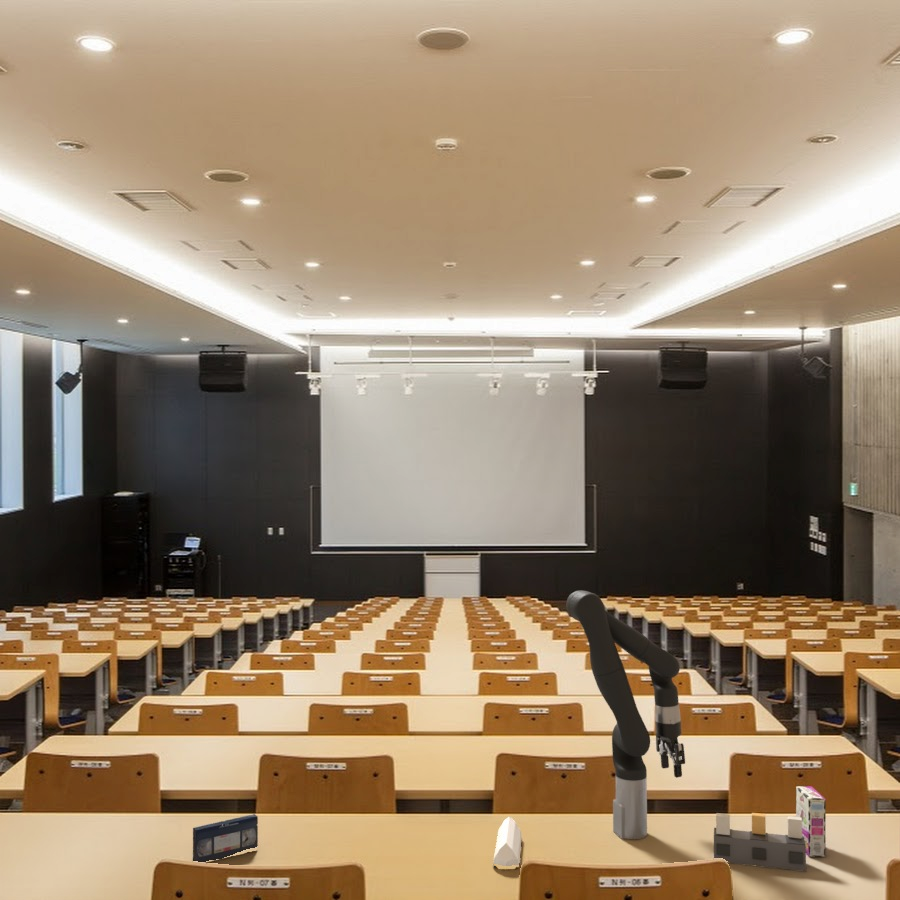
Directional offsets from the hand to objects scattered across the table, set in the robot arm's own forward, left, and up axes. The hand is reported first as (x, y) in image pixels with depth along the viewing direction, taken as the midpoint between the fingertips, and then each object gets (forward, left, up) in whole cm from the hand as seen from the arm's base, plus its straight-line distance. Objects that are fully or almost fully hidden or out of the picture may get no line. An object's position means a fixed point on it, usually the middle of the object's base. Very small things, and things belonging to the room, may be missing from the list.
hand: (671, 772), depth 285 cm
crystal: (-53, -5, -18) cm, 56 cm away
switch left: (+4, -24, -10) cm, 26 cm away
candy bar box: (+32, -23, -17) cm, 43 cm away
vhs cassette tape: (-131, +12, -18) cm, 133 cm away
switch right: (+22, -31, -10) cm, 39 cm away
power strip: (+13, -27, -17) cm, 34 cm away
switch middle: (+13, -26, -10) cm, 31 cm away
